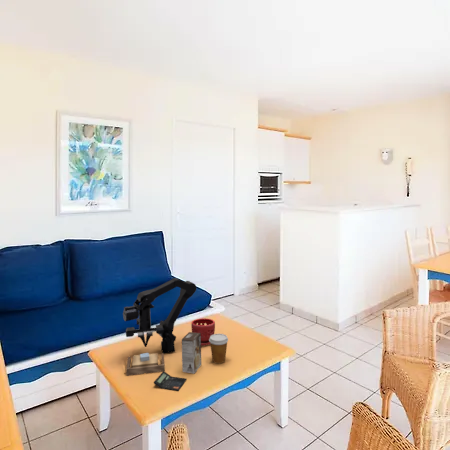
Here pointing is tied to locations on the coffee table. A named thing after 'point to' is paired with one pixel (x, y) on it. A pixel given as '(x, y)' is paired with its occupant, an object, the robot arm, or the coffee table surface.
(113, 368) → the coffee table surface
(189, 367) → the coffee box
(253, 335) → the coffee table surface
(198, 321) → the plant pot
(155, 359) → the beige rectangular block
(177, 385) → the calculator
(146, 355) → the light blue square block
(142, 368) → the dock bay
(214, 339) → the disposable coffee cup
